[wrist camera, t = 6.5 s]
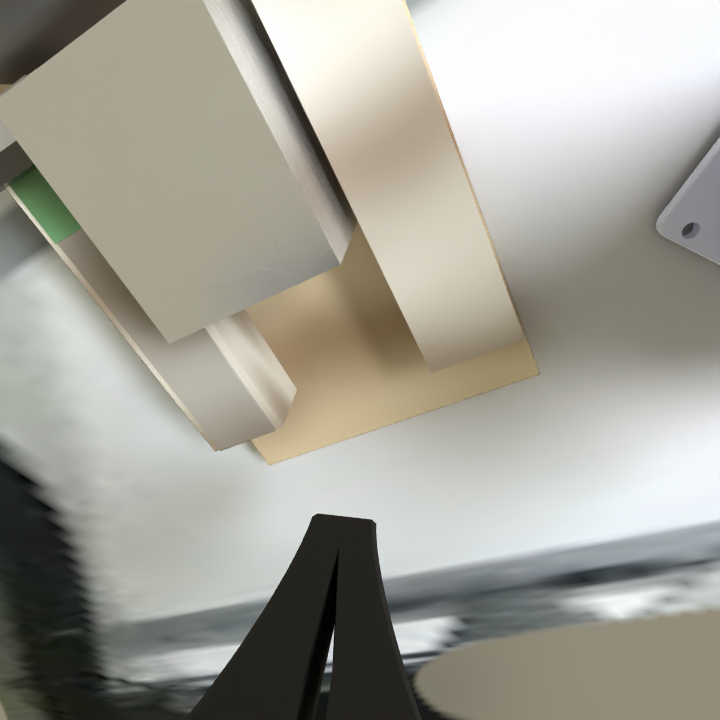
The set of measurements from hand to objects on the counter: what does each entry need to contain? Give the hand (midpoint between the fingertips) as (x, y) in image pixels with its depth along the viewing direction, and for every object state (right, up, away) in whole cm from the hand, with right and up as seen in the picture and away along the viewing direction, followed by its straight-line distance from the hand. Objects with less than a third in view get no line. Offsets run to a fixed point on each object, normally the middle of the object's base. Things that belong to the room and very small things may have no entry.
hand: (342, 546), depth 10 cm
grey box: (-5, +10, +4) cm, 12 cm away
